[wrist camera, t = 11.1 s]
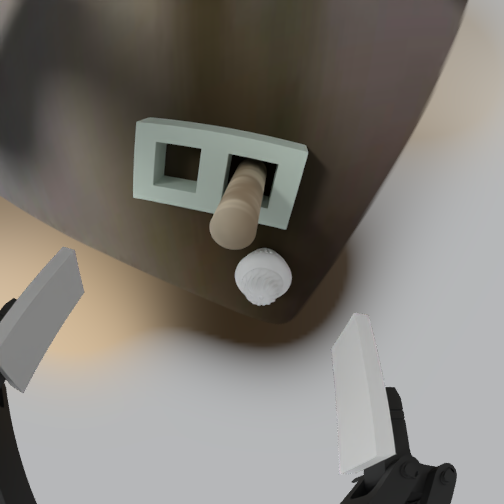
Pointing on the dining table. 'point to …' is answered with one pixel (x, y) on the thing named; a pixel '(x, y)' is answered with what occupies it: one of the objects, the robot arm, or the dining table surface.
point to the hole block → (214, 166)
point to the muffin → (263, 276)
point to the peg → (240, 206)
